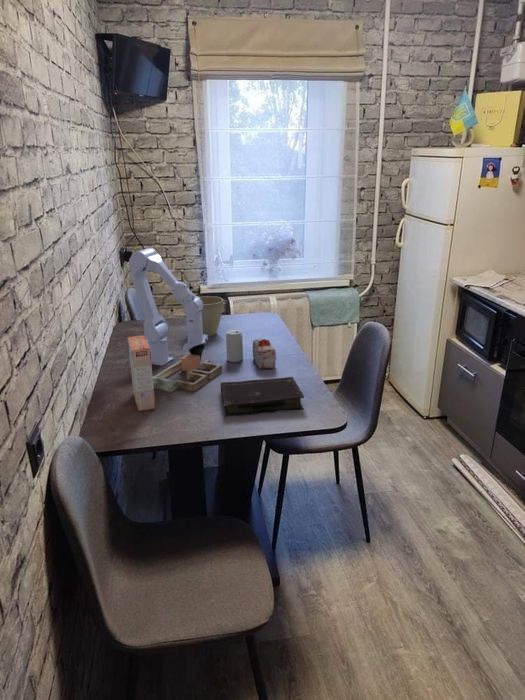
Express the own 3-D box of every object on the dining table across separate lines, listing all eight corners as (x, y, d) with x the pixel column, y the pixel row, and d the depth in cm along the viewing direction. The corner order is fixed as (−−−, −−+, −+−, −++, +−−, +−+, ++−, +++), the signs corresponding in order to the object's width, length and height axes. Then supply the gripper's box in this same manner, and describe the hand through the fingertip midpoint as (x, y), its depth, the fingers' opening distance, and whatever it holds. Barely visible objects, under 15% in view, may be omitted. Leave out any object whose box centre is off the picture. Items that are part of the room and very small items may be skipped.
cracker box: (157, 409, 156) (150, 348, 149) (137, 412, 154) (130, 350, 147) (151, 391, 168) (145, 334, 161) (133, 394, 167) (126, 336, 159)
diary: (220, 394, 167) (220, 380, 166) (292, 388, 171) (292, 374, 169) (225, 419, 150) (225, 404, 148) (304, 412, 154) (305, 397, 152)
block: (182, 370, 185) (181, 358, 184) (189, 365, 189) (188, 353, 188) (193, 372, 183) (192, 360, 181) (200, 367, 187) (199, 355, 186)
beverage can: (240, 363, 191) (239, 334, 186) (225, 362, 192) (223, 333, 188) (244, 357, 196) (243, 329, 192) (229, 356, 198) (228, 328, 193)
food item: (278, 369, 185) (278, 345, 182) (258, 371, 183) (257, 347, 180) (268, 356, 197) (268, 333, 194) (249, 358, 196) (248, 335, 192)
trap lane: (148, 387, 172) (147, 376, 170) (187, 362, 193) (187, 352, 191) (188, 395, 165) (187, 384, 163) (225, 369, 186) (224, 359, 184)
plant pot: (223, 338, 218) (221, 304, 213) (190, 339, 219) (187, 304, 213) (225, 328, 232) (224, 295, 227) (194, 328, 233) (192, 296, 227)
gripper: (193, 336, 177) (195, 371, 182) (213, 325, 189) (215, 357, 194) (177, 334, 180) (180, 368, 185) (198, 323, 192) (200, 355, 197)
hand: (197, 362), depth 190 cm, fingers closed
